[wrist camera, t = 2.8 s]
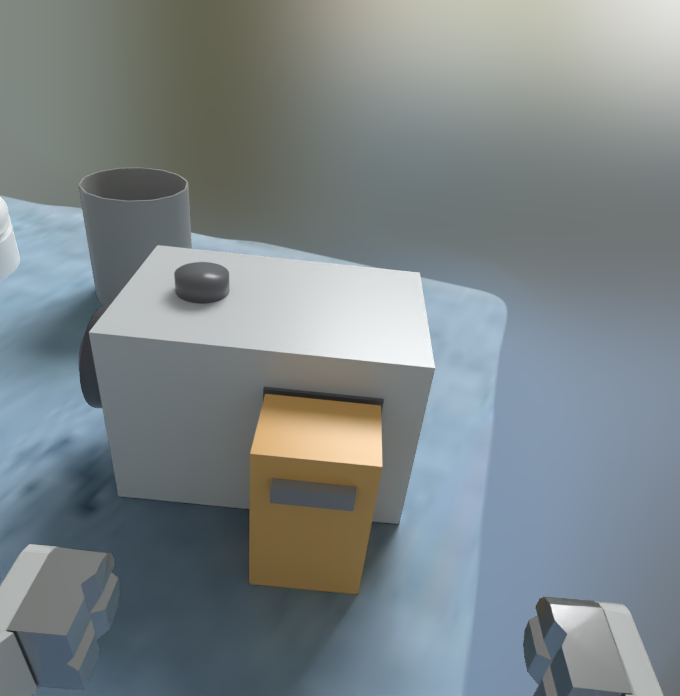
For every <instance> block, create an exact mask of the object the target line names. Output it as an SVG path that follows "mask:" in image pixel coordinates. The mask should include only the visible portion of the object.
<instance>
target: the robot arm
mask: <svg viewBox="0 0 680 696" xmlns="http://www.w3.org/2000/svg"><path fill="white" fill-rule="evenodd" d="M114 565H115V561H114V558H113V554H112V553H107V552H98V551H88V550H79V549H70V548H61V547H56V546H45V545H35V544H29V545H28V546H27V547H26V548H25V549H24V550H23V551H22V552H21V553H20V554H19V556H18V557H17V559H16V561H15V562H14V564H13V565H12V567H11V569H10V570H9V572H8V574H7V575H6V577H5V578H4V580H3V582H2V583H1V585H0V696H32V695H33V694H34V693H35V692H36V691H37V689H38V688H37V686H38V687H52V688H65V689H79V690H85V688H86V686H87V684H88V681H89V679H90V676H91V674H92V671H93V669H94V667H95V664H96V662H97V659H98V657H99V654H100V650H99V646H98V643H97V639H98V638H99V637H101V636H102V635H103V634H104V633H105V632H107V631H108V630H109V629H110V627H111V625H112V622H113V620H114V617H115V614H116V611H117V606H118V602H119V598H120V584H119V579H118V577H117V576H115V575H114V574H113V573H112V570H113V568H114ZM536 611H537V616H536V617H534V618H532V619H530V620H529V621H528V624H527V626H526V628H525V631H524V642H523V647H524V658H525V663H526V667H527V672H528V673H529V674H530V675H531V676H532V678H533V679H534V680H535V681H536V683H537V684H538V686H537V688H536V691H535V693H534V695H533V696H663V693H662V691H661V688H660V685H659V683H658V681H657V678H656V675H655V673H654V671H653V668H652V665H651V663H650V661H649V658H648V655H647V653H646V651H645V648H644V646H643V643H642V641H641V638H640V636H639V633H638V631H637V628H636V626H635V623H634V621H633V618H632V616H631V613H630V611H629V610H628V609H627V608H626V606H624V605H622V604H615V603H604V602H595V601H590V600H578V599H565V598H554V597H543V598H541V599H539V601H538V603H537V605H536Z"/></svg>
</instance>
